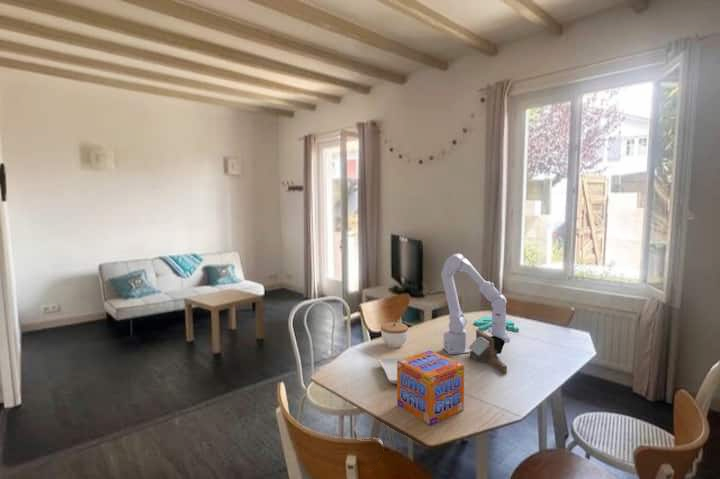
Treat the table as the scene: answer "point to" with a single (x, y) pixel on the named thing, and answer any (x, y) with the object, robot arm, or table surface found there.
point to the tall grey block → (482, 355)
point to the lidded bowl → (394, 334)
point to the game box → (430, 386)
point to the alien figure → (487, 323)
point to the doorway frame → (492, 352)
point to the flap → (479, 346)
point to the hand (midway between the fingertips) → (498, 353)
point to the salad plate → (390, 367)
